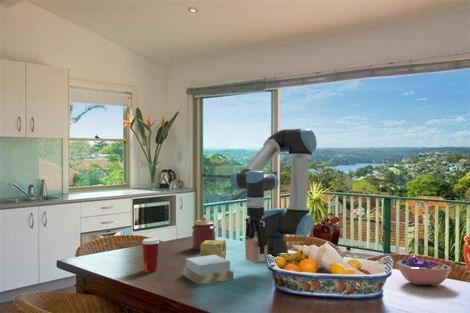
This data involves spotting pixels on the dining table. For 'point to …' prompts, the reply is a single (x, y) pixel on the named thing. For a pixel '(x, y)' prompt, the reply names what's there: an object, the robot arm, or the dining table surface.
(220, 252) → the cheese
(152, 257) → the paper cup
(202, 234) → the canister
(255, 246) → the terracotta block
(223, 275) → the tower base
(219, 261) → the tower top
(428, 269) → the cell model
